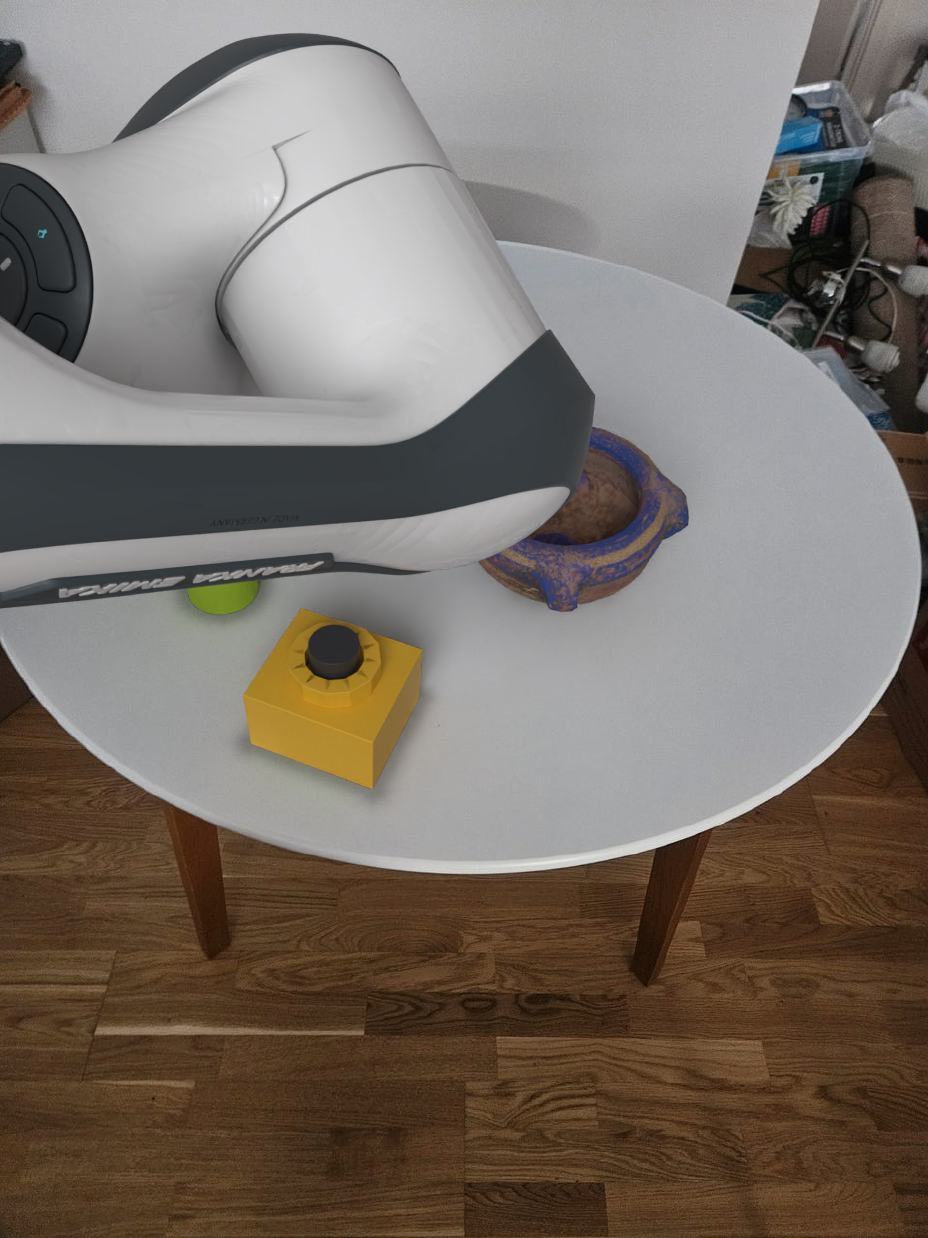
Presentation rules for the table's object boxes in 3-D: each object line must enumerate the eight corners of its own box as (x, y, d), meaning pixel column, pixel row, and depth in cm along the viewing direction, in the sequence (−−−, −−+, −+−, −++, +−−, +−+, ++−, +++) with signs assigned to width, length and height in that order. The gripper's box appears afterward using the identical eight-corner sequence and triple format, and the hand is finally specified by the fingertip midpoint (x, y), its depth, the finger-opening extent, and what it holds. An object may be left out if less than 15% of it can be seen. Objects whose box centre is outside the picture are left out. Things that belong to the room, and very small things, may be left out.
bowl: (409, 547, 87) (413, 462, 80) (553, 471, 96) (569, 387, 88) (544, 675, 79) (563, 593, 72) (689, 579, 88) (719, 497, 80)
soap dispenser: (167, 577, 83) (123, 381, 68) (246, 556, 85) (221, 363, 70) (185, 626, 80) (143, 432, 65) (267, 603, 82) (244, 411, 67)
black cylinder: (300, 669, 68) (298, 654, 67) (322, 633, 71) (322, 618, 69) (346, 686, 68) (346, 671, 66) (368, 649, 70) (368, 634, 69)
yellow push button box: (250, 743, 73) (239, 679, 67) (305, 657, 79) (299, 591, 72) (372, 789, 71) (373, 728, 65) (419, 698, 77) (423, 633, 71)
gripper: (-14, 453, 45) (131, 487, 58) (422, 490, 42) (467, 517, 55) (-3, 315, 44) (140, 382, 58) (437, 342, 42) (478, 406, 55)
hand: (302, 448), depth 57 cm, fingers closed
